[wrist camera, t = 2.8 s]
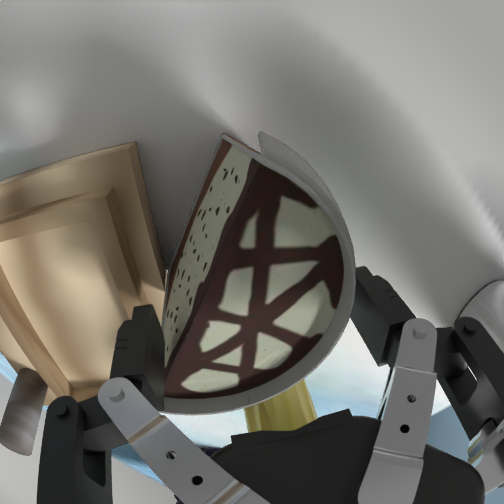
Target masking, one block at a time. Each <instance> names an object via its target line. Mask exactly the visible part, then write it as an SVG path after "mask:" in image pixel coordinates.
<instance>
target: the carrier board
mask: <svg viewBox="0 0 504 504" xmlns="http://www.w3.org/2000/svg"><path fill="white" fill-rule="evenodd" d="M166 281H167V271H166V268H165V264H164V260H163V257H162V253H161V249H160V245H159V241H158V238H157V234H156V230H155V226H154V222H153V218H152V213H151V209H150V205H149V201H148V196H147V192H146V188H145V183H144V179H143V174H142V169H141V164H140V160H139V155H138V150H137V145H136V142H131V143H127V144H123V145H118V146H114V147H110V148H106V149H102V150H98V151H94V152H90V153H87V154H83V155H79V156H76V157H72V158H69V159H65V160H62V161H59V162H55V163H52V164H49V165H46V166H43V167H39V168H36V169H33V170H30V171H27V172H24V173H22V174H19V175H16V176H13V177H10V178H7V179H5V180H2V181H0V351H1V352H2V354H3V355H4V356H5V358H6V359H7V361H8V362H9V363H10V365H11V366H12V367H13V369H14V370H15V371H16V373H17V374H18V375H17V378H16V381H15V383H14V386H13V389H12V392H11V395H10V398H9V400H8V403H7V406H6V410H5V413H4V416H3V419H2V422H1V426H0V443H1V444H2V445H3V446H5V447H6V448H8V449H10V450H11V451H14V452H16V453H18V454H22V455H27V456H29V455H31V454H32V449H33V444H34V440H35V436H36V431H37V427H38V423H39V419H40V415H41V411H42V408H43V405H50V404H51V402H52V401H53V400H55V399H56V398H58V397H61V396H71V397H73V398H74V399H75V400H76V401H77V402H80V401H83V400H86V399H88V398H91V397H94V396H96V395H98V392H99V389H100V387H101V386H102V385H103V384H104V383H105V382H106V381H108V380H109V378H110V371H111V365H112V359H113V353H114V350H115V342H116V337H117V332H118V329H119V328H120V326H121V325H122V323H123V322H124V321H125V320H131V319H132V313H133V308H134V307H135V306H141V305H148V304H152V305H153V306H154V309H155V312H156V314H157V317H158V320H159V322H160V325H161V321H162V312H163V304H164V296H165V289H166Z"/></svg>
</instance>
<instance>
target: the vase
mask: <svg viewBox="0 0 504 504" xmlns="http://www.w3.org/2000/svg"><path fill="white" fill-rule="evenodd" d="M244 412H245V417H246V423H247V429H248V433H250V432H255V431H260V430H265V431H292V430H296V429H298V428H300V427H302V426H304V425H306V424H308V423H310V422H312V421H314V420H315V419H317V414H316V411H315V408H314V405H313V402H312V399H311V396H310V394H309V391H308V389H307V386H306V383H305V379H303V380H302V381H300V382H299V383H297V384H296V385H294V386H293V387H291V388H289V389H288V390H286V391H285V392H283V393H281V394H279V395H277V396H275V397H273V398H271V399H269V400H266V401H263V402H261V403H258V404H255V405H253V406H250V407H246V408H244Z"/></svg>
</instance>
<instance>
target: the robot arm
mask: <svg viewBox="0 0 504 504" xmlns="http://www.w3.org/2000/svg"><path fill="white" fill-rule="evenodd" d="M355 278H356V284H355V296H354V303H353V307H352V311H351V314H350V318H351V320H352V321H353V323H354V325H355V327H356V328H357V330H358V332H359V333H360V335H361V337H362V339H363V340H364V342H365V344H366V346H367V347H368V349H369V351H370V353H371V354H372V356H373V358H374V360H375V361H376V363H377V365H378V367H380V366H383V365H386V364H388V365H389V367H390V370H389V373H388V377H387V381H386V385H385V389H384V392H383V396H382V399H381V403H380V406H379V409H378V412H377V415H376V418H372V417H367V416H352V414H351V412H350V410H349V409H346V410H342V411H339V412H335V413H332V414H328V415H325V416H321V417H319V418H317V419H315V420H314V421H312V422H310V423H308V424H306V425H304V426H302V427H300V428H298V429H296V430H292V431H265V430H260V431H255V432H250V433H244V434H238V435H232V436H231V440H232V443H231V444H229V445H226V446H225V447H223V448H221V449H219V450H218V451H216V452H215V453H214V454H213V455H211V456H210V457H209V456H207V455H206V454H205V453H204V452H203V451H202V450H201V449H200V448H198V447H197V446H196V445H195V444H194V443H193V442H192V441H191V440H190V439H189V438H188V437H187V436H186V435H185V434H183V433H182V432H181V431H180V430H179V429H178V428H177V427H176V426H175V425H174V424H173V423H172V422H171V421H170V420H169V419H168V418H167V417H166V416H164V415H163V416H162V415H161V414H160V413H159V412H158V411H164V375H165V339H164V334H163V331H162V328H161V325H160V322H159V320H158V317H157V314H156V312H155V309H154V306H153V305H152V304H148V305H141V306H135V307H134V308H133V313H132V319H131V320H125V321H124V322H123V323H122V325H121V326H120V328H119V329H118V332H117V337H116V342H115V350H114V353H113V359H112V365H111V371H110V378H109V380H108V381H106V382H105V383H104V384H103V385H102V386H101V387H100V389H99V392H98V395H96V396H94V397H91V398H88V399H86V400H83V401H80V402H77V401H76V400H75V399H74V398H73V397H71V396H61V397H58V398H56V399H55V400H53V401H52V402H51V404H50V405H49V407H48V409H47V413H46V419H45V426H44V432H43V439H42V447H41V455H40V464H39V475H38V487H37V504H113V500H112V474H111V449H113V448H115V447H118V446H121V445H124V444H127V443H129V444H130V445H131V446H132V447H133V449H134V450H135V451H136V452H137V453H138V454H139V456H140V457H141V458H142V459H143V460H144V462H145V463H146V464H147V465H148V466H149V467H150V468H151V469H152V471H153V472H154V473H155V474H156V475H157V476H158V477H159V478H160V479H161V480H162V481H163V483H164V484H165V485H166V486H167V487H168V488H169V489H170V490H171V491H172V492H173V493H174V494H175V495H176V496H177V497H178V498H179V500H178V502H177V503H176V504H484V500H485V494H487V493H488V492H490V491H491V490H493V489H495V488H496V487H504V281H503V280H499V281H495V282H493V283H491V284H489V285H488V286H486V287H485V288H484V289H482V290H481V291H480V292H479V293H478V294H477V295H476V296H475V297H474V298H473V299H472V300H471V301H470V302H469V303H468V305H467V306H466V307H465V309H464V310H463V312H462V313H461V315H460V317H459V318H458V319H457V320H456V321H455V324H454V326H453V327H448V328H435V326H434V325H433V324H432V323H431V322H429V321H427V320H425V319H421V318H416V317H415V315H414V314H413V313H412V311H411V310H410V309H409V308H408V306H407V305H406V304H405V303H404V301H403V300H402V299H401V297H399V295H398V294H397V292H396V291H395V290H394V289H393V287H392V286H391V285H390V284H389V282H388V281H386V280H385V279H383V278H382V277H380V276H378V275H376V276H373V275H372V274H371V272H370V271H369V270H368V269H367V267H365V266H361V267H356V272H355ZM468 366H469V368H470V369H471V371H472V372H473V374H474V375H475V377H476V379H477V381H476V379H475V378H474V376H473V374H472V373H471V371H470V370H469V368H468ZM436 379H437V380H438V381H439V383H440V385H441V387H442V388H443V390H444V392H445V394H446V396H447V398H448V399H449V401H450V403H451V405H452V407H453V409H454V410H455V412H456V414H457V416H458V418H459V420H460V422H461V424H462V426H463V428H464V430H465V432H466V434H467V436H468V438H469V440H470V443H469V446H468V462H469V463H467V462H465V461H463V460H461V459H458V458H456V457H454V456H452V455H450V454H448V453H445V452H443V451H441V450H439V449H437V448H435V447H433V446H431V445H428V444H426V439H427V435H428V430H429V425H430V419H431V413H432V407H433V401H434V394H435V387H436Z"/></svg>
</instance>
